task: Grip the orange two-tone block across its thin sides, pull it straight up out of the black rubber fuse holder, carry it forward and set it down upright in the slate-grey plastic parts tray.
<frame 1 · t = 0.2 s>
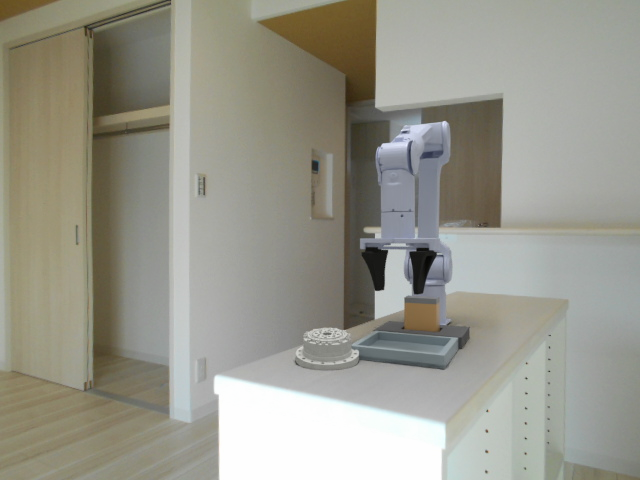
hand: (398, 292, 78), 10 cm above the worktop, tool pointing down, fingers open, 7 cm apart
fuse holder: (422, 338, 87), on the worktop
parts tray: (405, 353, 76), on the worktop
mechanical component: (327, 362, 72), on the worktop, touching parts tray
orange two-tone block: (422, 339, 87), resting in fuse holder
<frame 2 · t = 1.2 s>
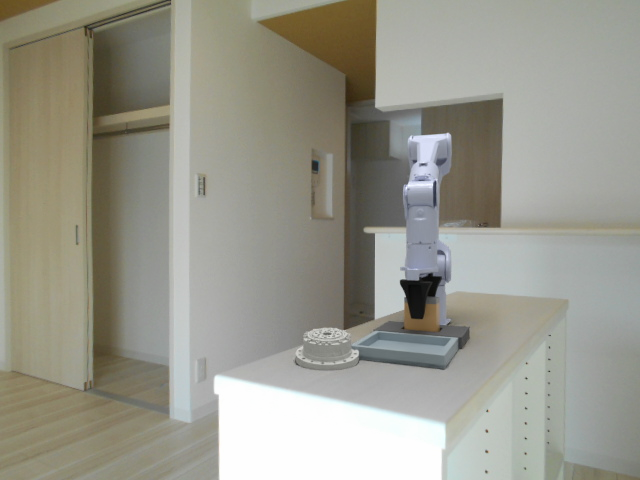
hand: (421, 315, 87), 4 cm above the worktop, tool pointing down, fingers open, 7 cm apart
nothing on the worktop moved.
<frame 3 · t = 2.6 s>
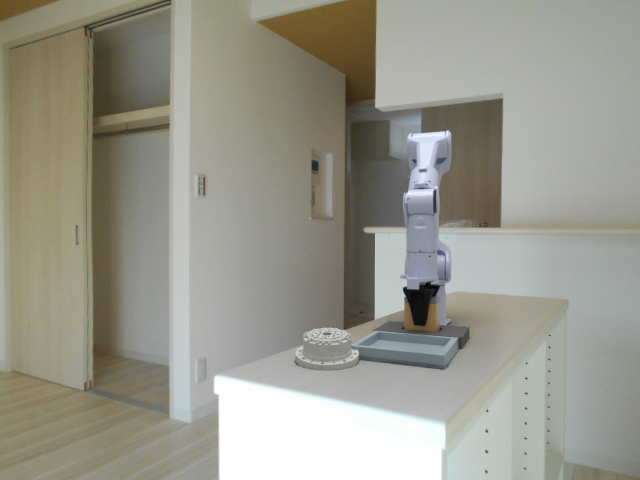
hand: (422, 323, 87), 3 cm above the worktop, tool pointing down, fingers closed on orange two-tone block, 3 cm apart
orange two-tone block: (422, 339, 87), resting in fuse holder, touching gripper
everything else where it was.
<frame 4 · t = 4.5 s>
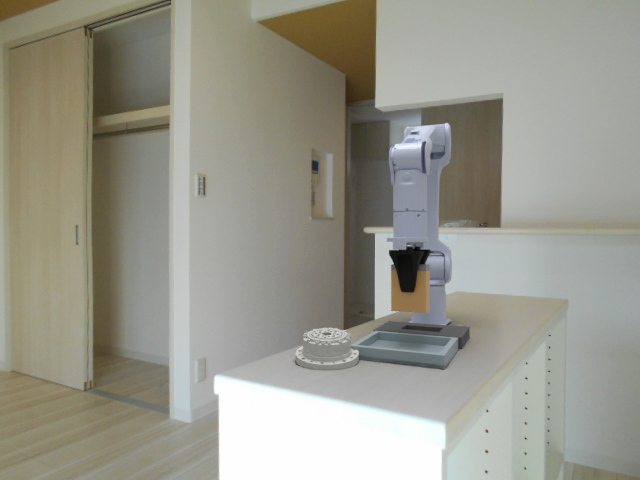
hand: (410, 291, 79), 10 cm above the worktop, tool pointing down, fingers closed on orange two-tone block, 3 cm apart
orange two-tone block: (410, 310, 79), point 7 cm above the worktop, touching gripper
everything else where it was.
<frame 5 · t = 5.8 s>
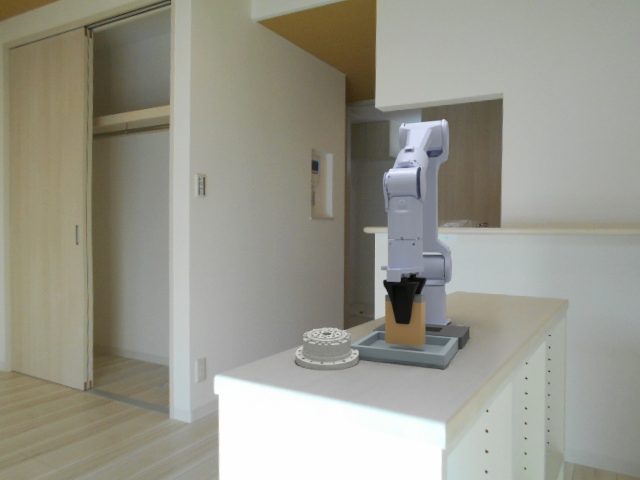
hand: (405, 321, 76), 5 cm above the worktop, tool pointing down, fingers closed on orange two-tone block, 3 cm apart
orange two-tone block: (405, 342, 76), point 2 cm above the worktop, touching gripper
everything else where it was.
when the fingers open (4 cm above the worktop, at t = 6.8 s): orange two-tone block stays where it is, resting on parts tray.
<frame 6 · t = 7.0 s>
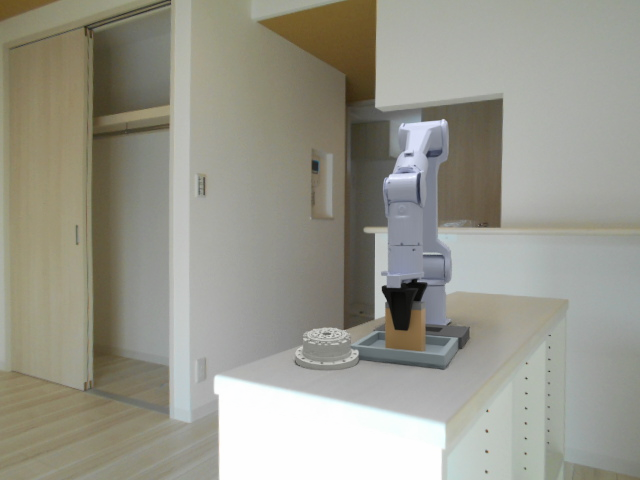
hand: (405, 327, 76), 4 cm above the worktop, tool pointing down, fingers open, 5 cm apart
orange two-tone block: (405, 349, 76), point 1 cm above the worktop, touching parts tray
everything else where it was.
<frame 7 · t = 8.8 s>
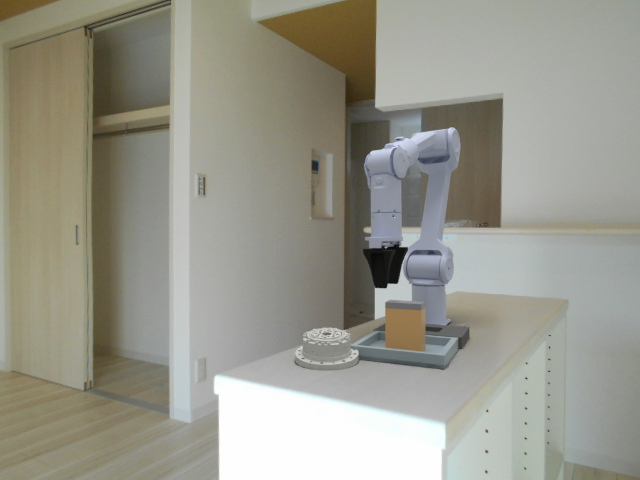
hand: (386, 285, 86), 10 cm above the worktop, tool pointing down, fingers open, 7 cm apart
nothing on the worktop moved.
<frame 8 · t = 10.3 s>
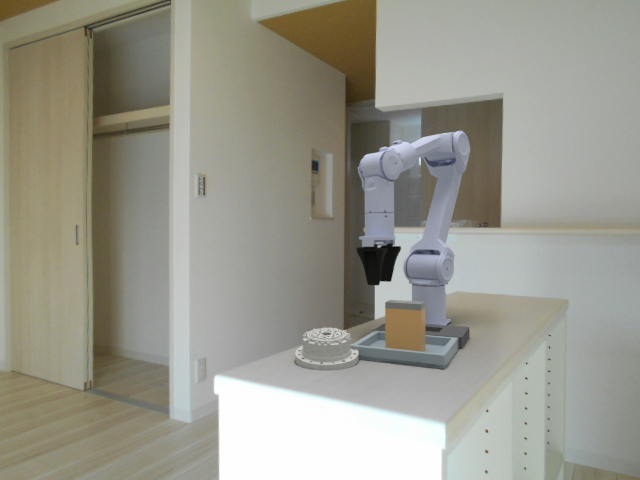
hand: (379, 283, 89), 10 cm above the worktop, tool pointing down, fingers open, 7 cm apart
nothing on the worktop moved.
at the end: orange two-tone block inside the target area on the parts tray (0.0 cm from its centre), point 0.6 cm above the parts tray's base; orange two-tone block tilted 0°; the gripper is holding nothing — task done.
